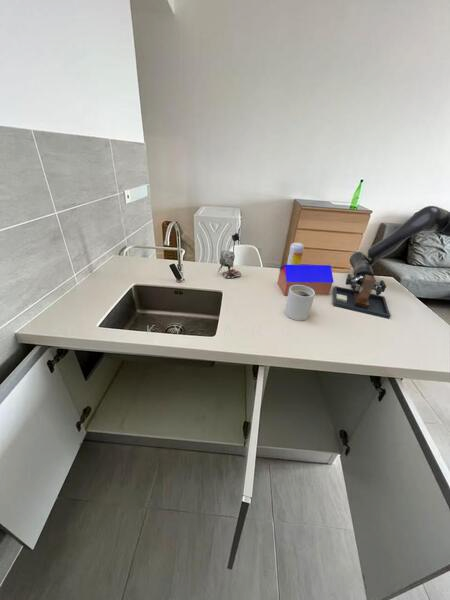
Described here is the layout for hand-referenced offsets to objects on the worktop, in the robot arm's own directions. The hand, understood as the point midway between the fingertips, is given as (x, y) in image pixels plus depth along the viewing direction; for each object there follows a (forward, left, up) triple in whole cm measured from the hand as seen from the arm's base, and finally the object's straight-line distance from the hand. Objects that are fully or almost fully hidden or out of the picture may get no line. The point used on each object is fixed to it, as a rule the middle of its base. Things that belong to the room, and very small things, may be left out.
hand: (366, 290), depth 94 cm
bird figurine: (+57, -2, -8) cm, 58 cm away
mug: (+22, +16, -8) cm, 29 cm away
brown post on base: (0, -2, -7) cm, 7 cm away
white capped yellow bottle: (+30, -19, -8) cm, 37 cm away
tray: (0, -2, -7) cm, 8 cm away
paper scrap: (+7, -2, -7) cm, 10 cm away
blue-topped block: (+23, -4, -8) cm, 25 cm away
